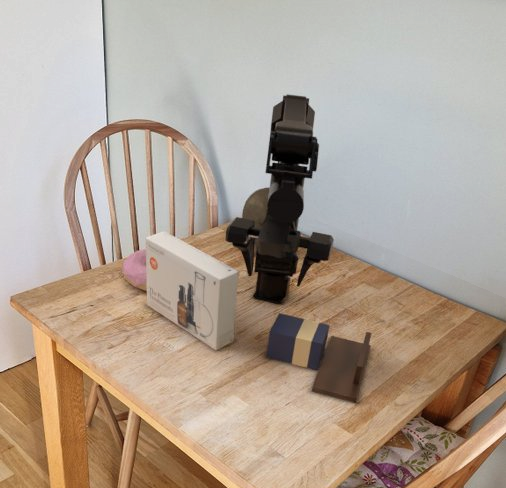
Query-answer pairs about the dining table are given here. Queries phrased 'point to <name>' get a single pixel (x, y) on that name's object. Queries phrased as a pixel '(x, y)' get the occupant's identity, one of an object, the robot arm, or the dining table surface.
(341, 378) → the walnut stand
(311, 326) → the tea box
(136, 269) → the donut
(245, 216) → the cantaloupe
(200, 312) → the skincare box
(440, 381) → the dining table surface
